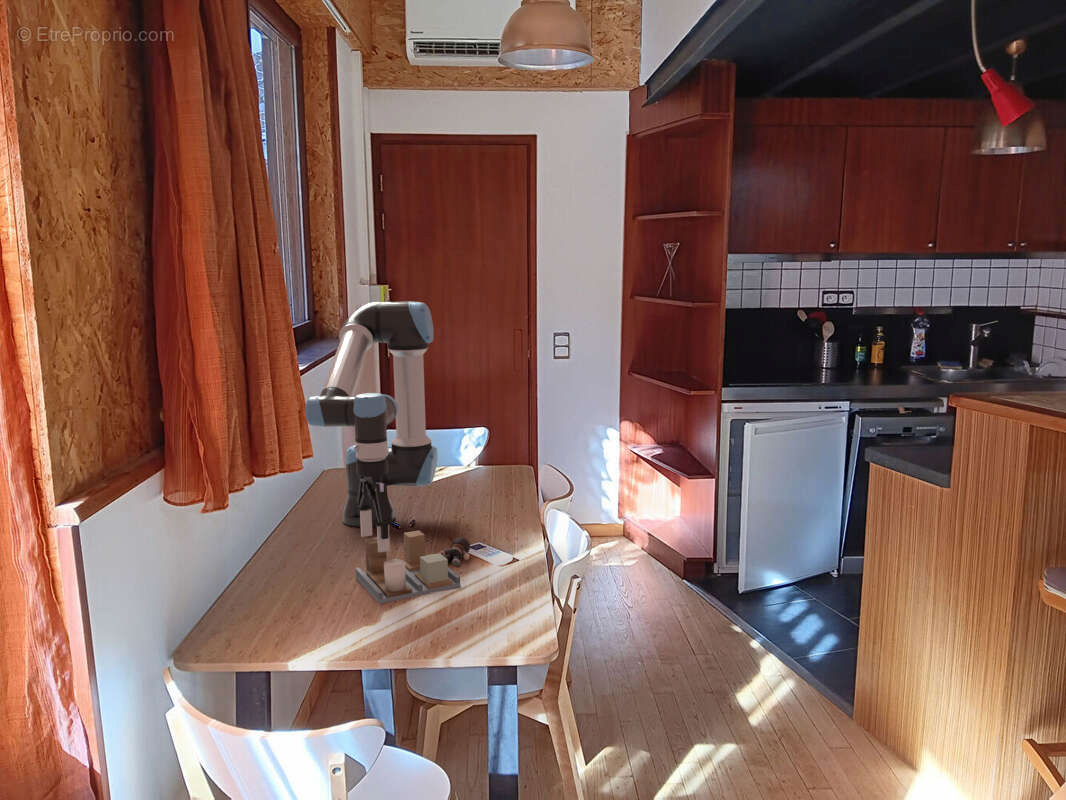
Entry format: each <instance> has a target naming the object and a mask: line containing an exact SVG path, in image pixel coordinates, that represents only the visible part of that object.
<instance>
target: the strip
mask: <svg viewBox="0 0 1066 800" xmlns="http://www.w3.org/2000/svg"><path fill="white" fill-rule="evenodd" d="M364 547H365V549H364V552H365V570H366V571H365V572H366V575H367V576H368V577H369V578H370V579H371V580H372V582H373V583H374V584H375V585H376V586H377V587H378V588H379V589H380V590H381V591H382V592H383V594H384V595H385V596H386V597H387V598H389V597H394V596H399V595H403V594H408V593H412V589H411V588H410V587H409V586H408V585H407V584H406V588H405V589H403V590H401V591H394V592H393V591H387V590H386V589H385V577H384V562H385V561H387V560H388V559H387V557H388V556H387V551H385V552H378V538H377V536H376V537H370V538H365V539H364Z"/></svg>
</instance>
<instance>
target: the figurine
mask: <svg viewBox="0 0 1066 800" xmlns="http://www.w3.org/2000/svg"><path fill="white" fill-rule="evenodd" d="M470 551H471V543H470V541H469V540H468V539H467V538H466V537H464V536H460V537H456V538H454V539H453V540H452V542H451V544H450V548H447V549H444V550H441V551H439V553H440V554H441V555H443V556H444V557H445V558H446V559H448V564H449V563H452V565H453V566H456V567H460V564H461V559H462V558H463V559H464V560H465V561H468V560H470V558H471V557H470V554H469V552H470Z"/></svg>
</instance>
